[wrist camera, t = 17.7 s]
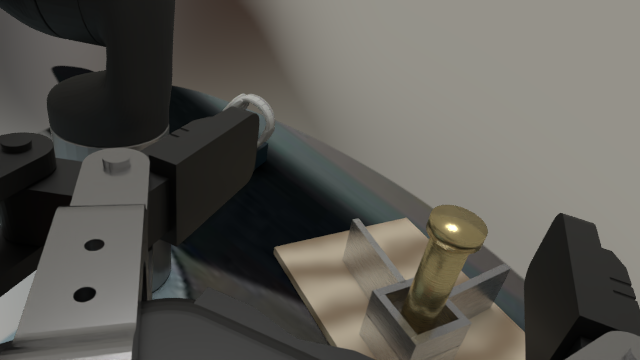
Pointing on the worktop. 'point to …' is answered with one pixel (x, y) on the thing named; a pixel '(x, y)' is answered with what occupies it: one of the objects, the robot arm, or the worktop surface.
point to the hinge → (390, 294)
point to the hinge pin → (441, 263)
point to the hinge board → (351, 303)
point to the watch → (263, 106)
